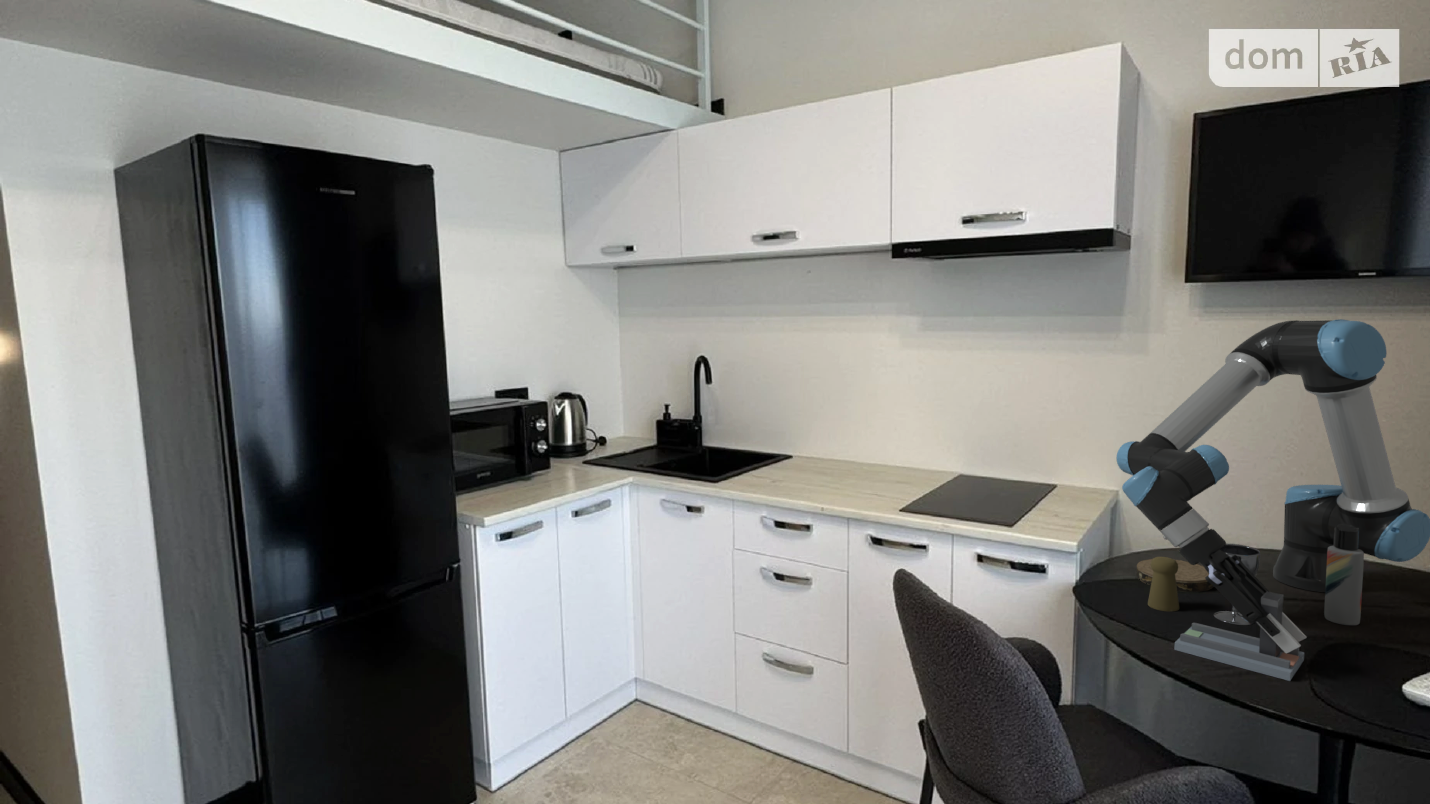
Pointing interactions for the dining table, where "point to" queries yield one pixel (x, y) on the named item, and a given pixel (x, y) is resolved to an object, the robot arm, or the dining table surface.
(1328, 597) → the lotion bottle
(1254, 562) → the wine glass
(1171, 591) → the cork
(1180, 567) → the wood slice
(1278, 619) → the handle
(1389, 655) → the dining table surface
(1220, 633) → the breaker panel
